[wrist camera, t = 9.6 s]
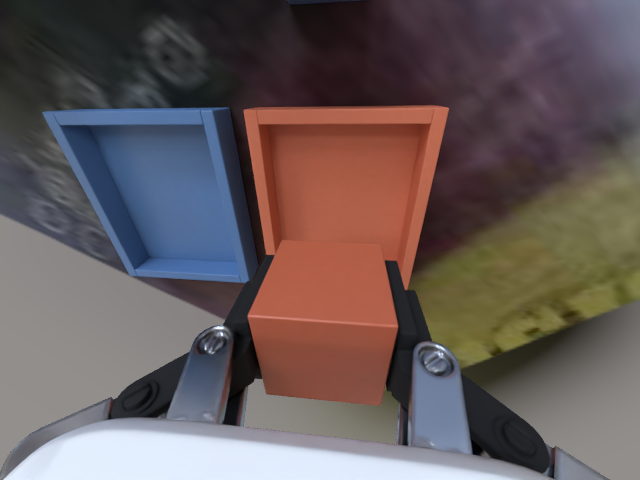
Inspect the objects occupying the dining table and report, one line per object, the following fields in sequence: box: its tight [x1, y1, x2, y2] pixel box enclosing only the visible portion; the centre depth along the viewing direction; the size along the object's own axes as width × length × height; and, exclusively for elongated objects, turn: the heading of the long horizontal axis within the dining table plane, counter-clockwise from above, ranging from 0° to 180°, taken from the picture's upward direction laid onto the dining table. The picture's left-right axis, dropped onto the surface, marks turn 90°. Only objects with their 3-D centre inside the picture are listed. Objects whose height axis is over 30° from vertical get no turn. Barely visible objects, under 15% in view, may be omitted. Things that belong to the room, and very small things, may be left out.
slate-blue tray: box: [42, 108, 259, 283], centre depth 20 cm, size 12×14×2 cm
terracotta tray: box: [244, 105, 449, 290], centre depth 18 cm, size 12×14×2 cm
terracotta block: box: [248, 240, 399, 406], centre depth 10 cm, size 4×4×4 cm
